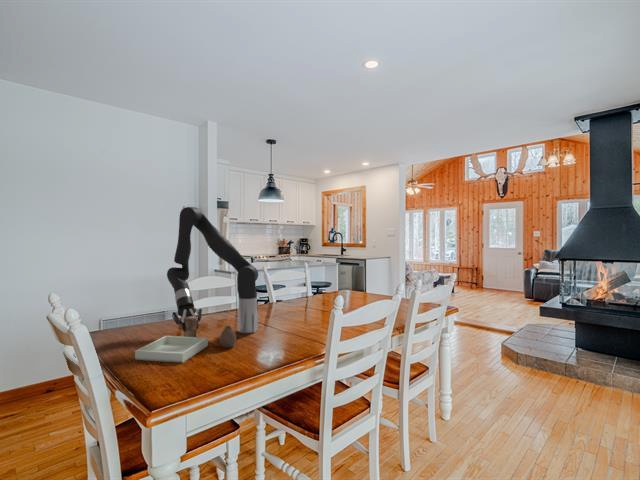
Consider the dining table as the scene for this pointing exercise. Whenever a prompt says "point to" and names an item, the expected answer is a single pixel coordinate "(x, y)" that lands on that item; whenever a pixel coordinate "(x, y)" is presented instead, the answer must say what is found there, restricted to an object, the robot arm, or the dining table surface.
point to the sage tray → (171, 349)
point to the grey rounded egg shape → (227, 337)
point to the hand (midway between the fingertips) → (191, 329)
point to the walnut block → (190, 327)
